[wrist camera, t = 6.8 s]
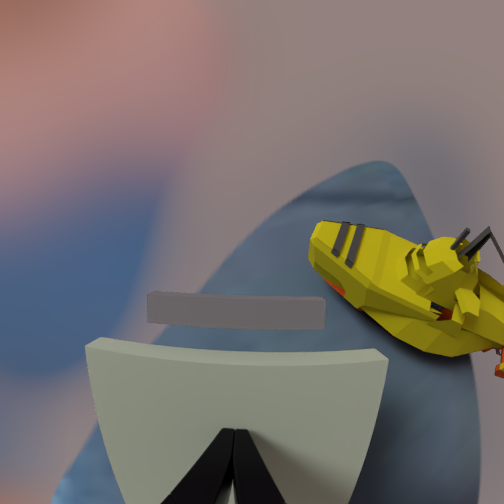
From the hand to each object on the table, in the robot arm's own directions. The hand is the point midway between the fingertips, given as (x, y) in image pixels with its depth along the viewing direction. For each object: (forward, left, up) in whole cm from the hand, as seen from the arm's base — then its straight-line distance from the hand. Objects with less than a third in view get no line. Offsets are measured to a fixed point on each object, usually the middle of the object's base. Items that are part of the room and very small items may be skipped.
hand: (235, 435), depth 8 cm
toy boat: (+6, -12, -7) cm, 15 cm away
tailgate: (-6, 0, -5) cm, 7 cm away
